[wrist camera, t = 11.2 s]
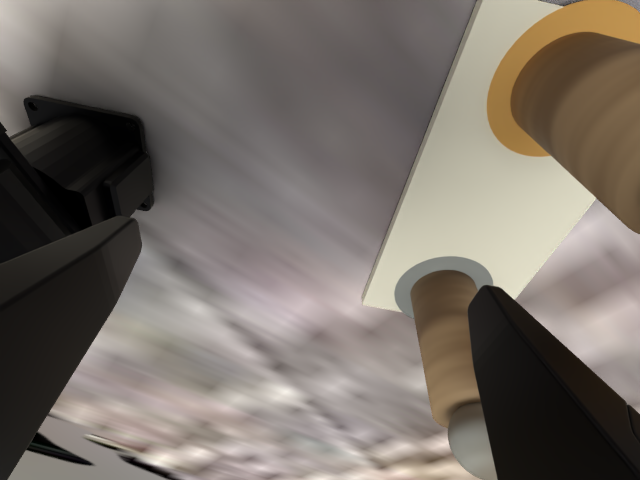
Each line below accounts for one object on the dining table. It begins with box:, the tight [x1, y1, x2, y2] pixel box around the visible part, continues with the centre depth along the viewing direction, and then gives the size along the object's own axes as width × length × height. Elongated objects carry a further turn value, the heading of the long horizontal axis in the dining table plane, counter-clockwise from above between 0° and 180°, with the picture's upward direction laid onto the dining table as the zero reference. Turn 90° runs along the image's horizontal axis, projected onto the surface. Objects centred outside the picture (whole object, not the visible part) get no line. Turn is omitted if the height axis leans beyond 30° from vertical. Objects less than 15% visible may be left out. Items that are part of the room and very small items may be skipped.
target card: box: [362, 0, 640, 319], centre depth 22 cm, size 11×22×1 cm, turn 169°
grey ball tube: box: [410, 270, 497, 480], centre depth 21 cm, size 5×5×12 cm
